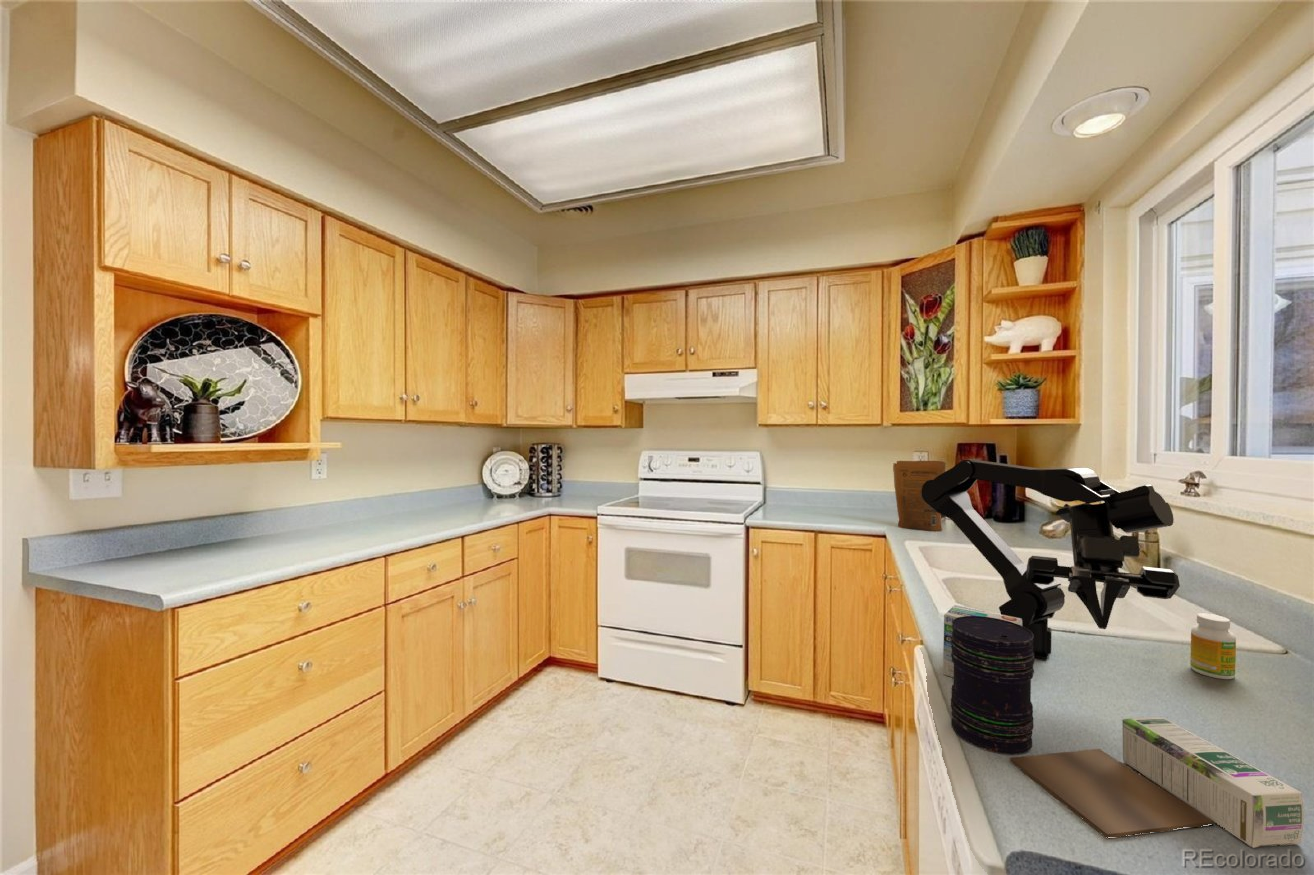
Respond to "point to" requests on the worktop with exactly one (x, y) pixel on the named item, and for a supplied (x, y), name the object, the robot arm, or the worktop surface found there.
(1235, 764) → the syrup box
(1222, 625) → the supplement bottle
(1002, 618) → the light bulb box
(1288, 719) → the worktop surface
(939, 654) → the worktop surface
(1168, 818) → the plate
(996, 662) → the black ridged cylinder
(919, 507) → the pancake mix bag
